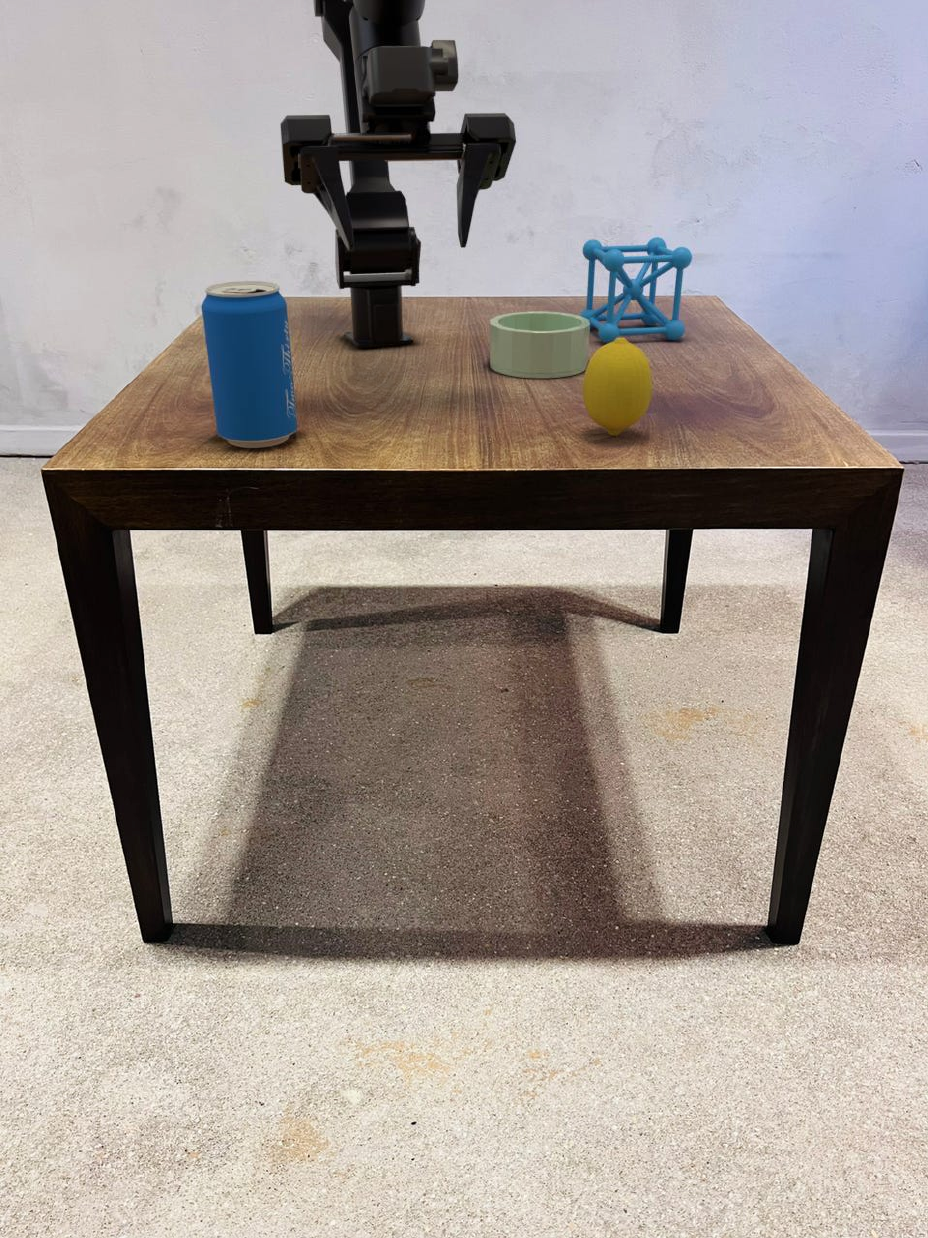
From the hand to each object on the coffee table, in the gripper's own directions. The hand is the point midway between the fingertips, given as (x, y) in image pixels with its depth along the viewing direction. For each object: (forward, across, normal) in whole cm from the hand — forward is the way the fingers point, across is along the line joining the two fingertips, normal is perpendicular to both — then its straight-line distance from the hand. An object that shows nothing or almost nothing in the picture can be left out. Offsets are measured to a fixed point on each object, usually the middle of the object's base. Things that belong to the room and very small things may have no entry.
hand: (408, 246), depth 79 cm
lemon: (+16, +16, +1) cm, 23 cm away
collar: (+3, +15, +20) cm, 25 cm away
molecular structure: (-4, +29, +30) cm, 42 cm away
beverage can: (+14, -13, +5) cm, 20 cm away
